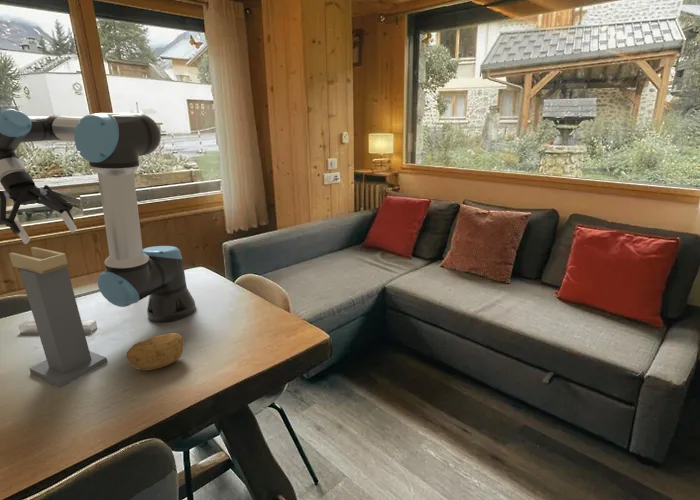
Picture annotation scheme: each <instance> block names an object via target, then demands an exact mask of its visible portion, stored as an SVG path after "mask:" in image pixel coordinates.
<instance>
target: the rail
mask: <svg viewBox="0 0 700 500" xmlns="http://www.w3.org/2000/svg"><path fill="white" fill-rule="evenodd" d="M81 322H82V326H83V329H84V333H85V334H86V333H90V334H91V333H93V332H95V331H96V330H97V329H98V325H97V320H95V319H94V320H81ZM18 329H19V333H20V334H39V333H38V330H37V326H36V323H35V320H25V321H23V322H21V323H20V324H18Z"/></svg>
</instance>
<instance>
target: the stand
mask: <svg viewBox="0 0 700 500" xmlns="http://www.w3.org/2000/svg"><path fill="white" fill-rule="evenodd" d="M30 250H31V254H32V256H28V255H25V254H20V253H16V252H13V251H12V252H9V253H8V256H9V259H10V261H11V262H10V263H11V264H12V267H15V268H18V270H19V273H20V277H21V280H22V283H23V287H24V290H25V294H26V297H27V300H28V302H29V306H30V309H31V313H32V316H33V317H32V318H33V319H34V320H33V321H35V323H36V326H37V330H38V333H37V334H38V335H39V339H40V342H41V346H42V349H43V352H44V357H45V359H46V360H44V361H41V362H39V363H36V364H35V365H32V366H31V367H29V372H30V374H31V375H33V376H36V377H37V378H39V379H42V380H44V381H46V382H48V383H50V384H52V385H55V386H57V387H59V388H62V389H63V388H64V387H66V386H67V385H69V384H71V383H73V382H76V380H78V379H80V378H82V377H83V376H86V375H88V374H89V373H91V372H93V371H95V370H97V369H99V368H100V367H102V366H103V365H106V364H107V363H109V362H108V359H107V357H106V356H104V355H101V354H99V353H96V352H93V351H91V350H90V349H89V345H88V342H87V337H86V333H84V329H83V326H82V322H81V321H82V319H81V315H80V311H79V307H78V304H77V299H76V296H75V293H74V289H73V284H72V281H71V277H70V273H69V269H68V267H69V263H68V259H67V255H66V253H63V252H59V251H56V250H55V251H54V250H50V249H45V248H41V247H36V246H32V247H30Z"/></svg>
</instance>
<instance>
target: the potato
mask: <svg viewBox="0 0 700 500" xmlns="http://www.w3.org/2000/svg"><path fill="white" fill-rule="evenodd" d="M184 347H185V340H184V338H183V337H182V335H180V334H179V333H176V332H173V333H171V332H170V333H165V334H161V335H154V336H151V337H148V338H146V339H144V340H141V341H138V342H136V343H134V344H133V345H132V346H131V347H130V348H129V349H128V350H127V352H126V355H125V357H126V359H127V361H128V363H129V364H130V366H132V367H134V368H137V369H139V370H142V371H152V370H156V369H161V368H163V367H167V366H168V365H172V364H173V363H175V362H176V361H177V360H179V358H180V357H181V356H182V354H183V351H184Z"/></svg>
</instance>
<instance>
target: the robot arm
mask: <svg viewBox="0 0 700 500" xmlns="http://www.w3.org/2000/svg"><path fill="white" fill-rule="evenodd" d="M161 137H162V134H161V130H160V127H159V126H158V123H157V122H156V121H155V120H154V119H152V118H151V117H150V116H148V115H146V114H143V113H141V112H138V113H137V112H98V113H97V112H96V113H91V114H90V113H89V114H86V115H84V116H69V115H68V116H67V115H66V116H65V115H59V114H57V115H56V114H53V115H27V114H26V113H24V112H23V111H21V110H16V109H15V108H6V109H3V110H2V111H1V112H0V185H1V186H2V187H3V189H4V191H5V192H4V191H2V190H0V226H2V225H5V226H6V227H7V228H8V227H9V228H10V230H11V232H12V233H13V234H15V235H18V237H19V238H20V239H21V241H22V243H23V244H24V245H28V244H29V243H30V241H31V238H30V236H29V235H28V233H27V231H26V230H25V228H24V227H23V226H22V224H21V222H20V221H19V220H18V219H17V220H15V219H16V217H17V215H18V211H19V210H20V207H21V205H23V206H28V205H34V204H38V205H43V206H46V207H48V208H49V209H51V210H53V211H56V212H58V213H60V214H61V215H60V217H61V219H62V221H63V222H64V223H65V225H66V227H67V228H68V230H69V231H70V233H71V234H73V233H75V232H76V230H77V229H78V227H77V226H76V224H75V223H74V217H73V215H72V214H71V210H73V208H74V206H73V205H72V204H71V203H70V202H68V201H67V200H66V199H64V198H63V197H61V196H60V195H59V194H57V193H56V192H54V191H53V190H52V189H51V188H50V187H49V185H47V184H44V186H42V187H38V186H36V184H35V182H34V180H33V177H32V176H31V175H30V174H29V172H28V170H27V169H26V167H25V165H24V164H23V163H22V161H21V159H20V158H19V157H18V154H17V153H16V150H17V149H18V147H19V146H20V144H22V143H33V142H45V141H46V142H47V141H49V142H50V141H59V142H60V141H61V142H64V141H65V142H74V144H75V148H76V151H78V152H79V155H80V156H81V157H82V158H83V159H84V160H86V161H88V163H89V167H90V168H91V169H92V170H93V171H95V172H96V173H97V178H98V179H97V180H98V184H99V192H100V199H101V206H102V212H103V213H102V214H103V219H104V226H105V231H106V239H107V240H106V241H107V245H108V246H107V248H108V252H109V254H108V255H109V256H107V257H106V258H105V260H104V269H105V271H104V272H101V273H100V275H99V276H98V277H97V281H96V283H97V287H98V289H99V292H100V293H101V295H102V296H103V298H105V300H107V301H108V302H109V303H111V304H112V305H114V306H116V307H119V308H126V307H129V306H131V305H133V304H137V303H138V302H139V301H141V300H144V299H145V298H147V297H148V303H147V309H146V314H147V317H148V320H150V321H152V322H157V323H168V322H175V321H178V320H181V319H184V318H187V317H188V316H190V315H192V314H193V313H194V312H195V311H196V307H197V306H196V302H195V299H194V297H193V295H192V294H191V292H190V291H189V289H188V287H187V280H186V279H187V278H186V274H185V268H184V261H183V257H182V252H181V250H180V248H178V247H177V246H172V245H158V246H157V245H156V246H149V247H145V248H143V241H142V232H141V225H140V215H139V207H138V205H139V204H138V198H137V190H136V189H137V188H136V180H135V172H136V170H137V169H138V168H139V167H140V163H139V161H140V159H139V157H140V156H141V157H142V156H147V155H149V154H152V153H153V152H154V151H156V149H158V147H159V146H160V143H161V139H162V138H161ZM8 199H11V200H12V201H14V202H13V205H12V208H11V210H10V213H9V215H8V217H7V200H8Z"/></svg>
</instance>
